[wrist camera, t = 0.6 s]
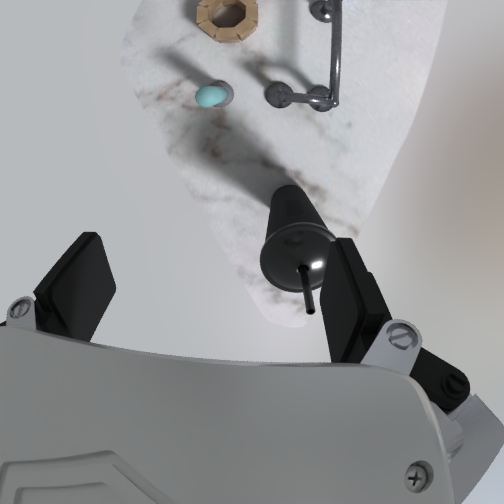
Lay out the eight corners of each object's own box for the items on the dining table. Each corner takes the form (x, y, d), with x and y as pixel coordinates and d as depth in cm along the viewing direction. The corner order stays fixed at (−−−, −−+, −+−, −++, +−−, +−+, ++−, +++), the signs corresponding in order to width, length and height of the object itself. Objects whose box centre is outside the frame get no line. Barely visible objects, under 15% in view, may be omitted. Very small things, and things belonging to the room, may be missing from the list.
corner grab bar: (268, -5, 22) (270, -23, 16) (337, 3, 21) (353, -12, 16) (265, 107, 30) (266, 111, 24) (333, 113, 30) (348, 119, 24)
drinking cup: (248, 205, 37) (238, 317, 21) (286, 163, 34) (311, 250, 17) (291, 236, 40) (309, 353, 23) (328, 198, 36) (379, 303, 20)
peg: (207, 82, 28) (188, 81, 21) (233, 81, 28) (224, 79, 21) (207, 107, 30) (189, 114, 22) (233, 106, 30) (224, 113, 22)
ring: (204, -1, 22) (197, -9, 19) (258, -2, 22) (258, -12, 19) (202, 43, 25) (195, 39, 22) (257, 42, 25) (256, 37, 22)
